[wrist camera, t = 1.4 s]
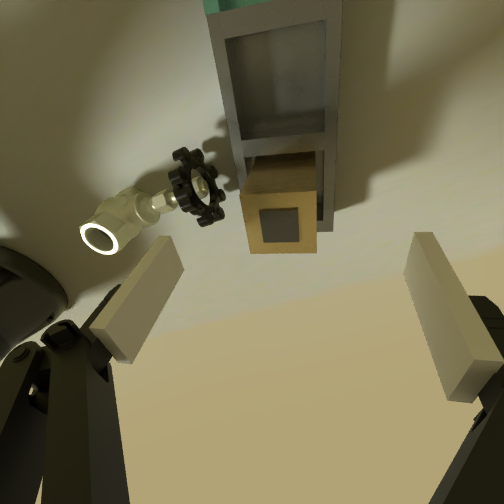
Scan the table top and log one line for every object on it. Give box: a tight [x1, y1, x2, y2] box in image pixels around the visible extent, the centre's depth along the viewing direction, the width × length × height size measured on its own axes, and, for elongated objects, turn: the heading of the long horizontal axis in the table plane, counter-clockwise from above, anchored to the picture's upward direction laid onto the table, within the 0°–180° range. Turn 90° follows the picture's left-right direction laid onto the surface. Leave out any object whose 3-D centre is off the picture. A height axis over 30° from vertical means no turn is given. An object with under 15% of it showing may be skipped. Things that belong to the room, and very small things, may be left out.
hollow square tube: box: [239, 151, 317, 254], centre depth 20 cm, size 5×5×8 cm
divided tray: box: [203, 0, 343, 232], centre depth 18 cm, size 7×22×3 cm, turn 8°
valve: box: [79, 147, 226, 255], centre depth 24 cm, size 7×7×12 cm
